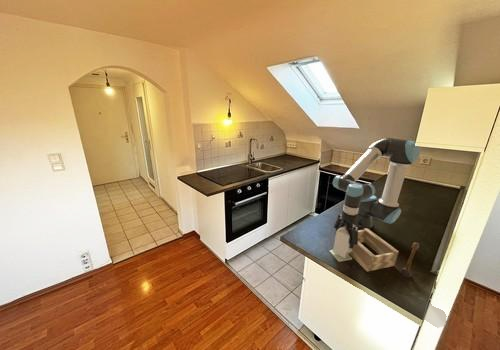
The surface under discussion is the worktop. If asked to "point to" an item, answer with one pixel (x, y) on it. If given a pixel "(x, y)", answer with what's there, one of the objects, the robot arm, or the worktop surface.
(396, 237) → the worktop surface
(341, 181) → the robot arm
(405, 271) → the wooden tabletop sculpture
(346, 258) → the place mat
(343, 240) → the milk carton
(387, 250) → the crate
